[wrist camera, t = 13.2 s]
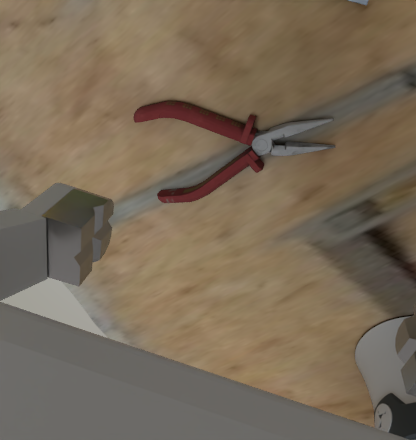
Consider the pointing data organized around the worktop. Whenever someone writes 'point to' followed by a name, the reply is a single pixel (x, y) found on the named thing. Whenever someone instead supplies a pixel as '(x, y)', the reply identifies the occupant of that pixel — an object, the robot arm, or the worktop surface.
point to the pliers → (233, 130)
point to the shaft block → (360, 1)
